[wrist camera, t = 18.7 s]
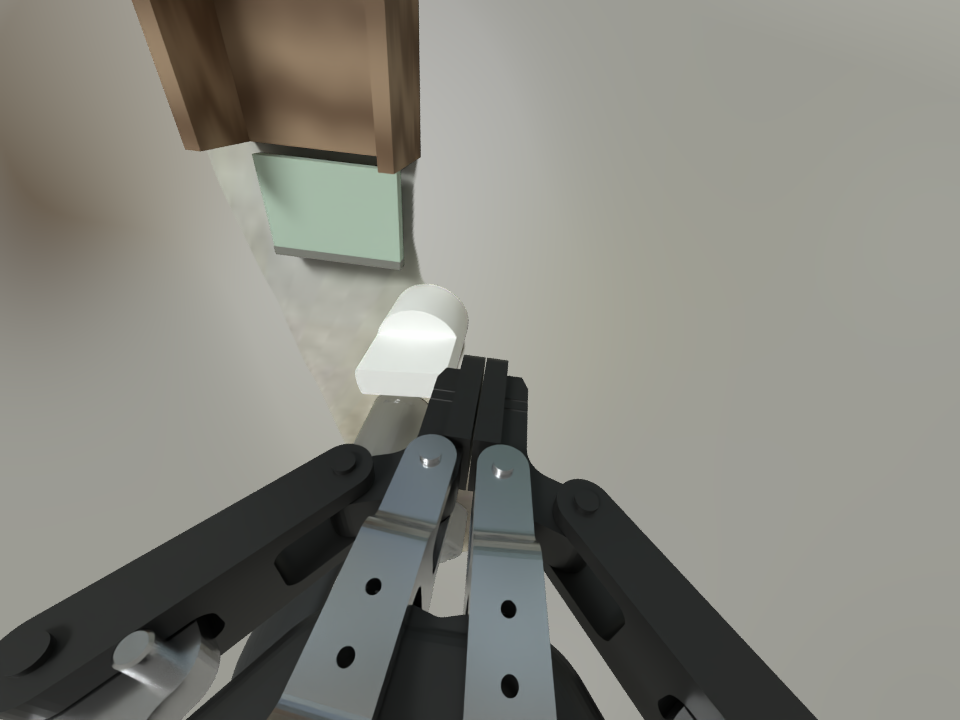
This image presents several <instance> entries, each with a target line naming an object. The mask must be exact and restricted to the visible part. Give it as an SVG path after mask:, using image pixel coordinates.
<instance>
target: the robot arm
mask: <svg viewBox="0 0 960 720" xmlns="http://www.w3.org/2000/svg"><path fill="white" fill-rule="evenodd" d="M484 367H485V358H484V357H478V356H470V355H464V357H463V361H462V365H461V369H455V368H448V367H447V368H446V369H445V370H444V371H443V372H441V373H440V374H439V375H438V376H437V379H436V382H435V385H434V389H433V391H432V394H431V398H430V400H429V403H428V404H427V403H426V402H425V401H423V400H422V399H421V398H419V397H408V396H391V395H380V396H379V397H378V398H377V399H376V400H375V402H374V404H373V406H372V408H371V410H370V412H369V414H368V416H367V418H366V420H365V422H364V424H363V426H362V428H361V430H360V432H359V434H358V436H357V438H356V440H355V442H354V444H343V445H339V446H336V447H334V448H332V449H330V450H328V451H327V452H325V453H323V454H321V455H319V456H318V457H316V458H314V459H312V460H311V461H309V462H307V463H305V464H303V465H302V466H300V467H298V468H296V469H295V470H293V471H291V472H289V473H288V474H286V475H284V476H282V477H280V478H279V479H277V480H275V481H274V482H272V483H270V484H268V485H266V486H265V487H263V488H261V489H259V490H257V491H256V492H254V493H252V494H250V495H249V496H247V497H245V498H243V499H242V500H240V501H238V502H236V503H234V504H233V505H231V506H229V507H227V508H226V509H224V510H222V511H220V512H219V513H217V514H215V515H213V516H211V517H210V518H208V519H206V520H205V521H203V522H201V523H199V524H197V525H196V526H194V527H192V528H190V529H189V530H187V531H185V532H183V533H182V534H180V535H178V536H176V537H174V538H173V539H171V540H169V541H167V542H165V543H164V544H162V545H160V546H158V547H157V548H155V549H153V550H151V551H150V552H148V553H146V554H144V555H142V556H141V557H139V558H137V559H135V560H134V561H132V562H130V563H128V564H127V565H125V566H123V567H121V568H120V569H118V570H116V571H114V572H113V573H111V574H109V575H107V576H105V577H104V578H102V579H100V580H98V581H97V582H95V583H93V584H91V585H89V586H88V587H86V588H84V589H82V590H81V591H79V592H77V593H75V594H73V595H72V596H70V597H68V598H66V599H65V600H63V601H61V602H59V603H58V604H56V605H54V606H52V607H51V608H49V609H47V610H45V611H43V612H42V613H40V614H38V615H37V616H35V617H33V618H31V619H29V620H28V621H26V622H24V623H23V624H21V625H20V626H18V627H17V628H15V629H14V630H13V631H11V632H10V633H9V634H8V635H7V636H5V637H4V638H3V639H2V640H0V719H3V720H181V719H182V718H183V717H184V716H185V715H186V714H187V713H188V712H189V711H190V710H191V709H192V708H193V707H194V706H195V705H196V704H197V703H198V702H199V701H200V700H201V698H202V697H203V696H204V695H205V694H206V692H207V691H208V689H209V688H210V686H211V684H212V683H213V681H214V679H215V676H216V674H217V672H218V668H219V664H220V656H221V655H222V654H223V653H225V652H226V651H227V650H228V649H230V648H231V647H232V646H234V645H235V644H236V643H237V642H239V641H240V640H241V639H243V638H244V637H245V636H246V635H248V634H249V633H250V632H252V633H251V635H250V637H249V639H248V640H247V643H246V645H245V647H244V649H243V651H242V653H241V655H240V658H239V660H238V662H237V665H236V668H235V670H234V674H233V676H232V680H231V681H230V682H229V683H228V684H227V685H226V686H224V687H223V688H222V689H221V690H220V691H219V692H218V693H216V694H215V695H214V696H213V697H212V698H210V700H208V701H207V702H206V703H205V704H204V705H202V706H201V707H200V708H199V709H198V710H197V711H195V712H194V713H193V714H192V715H191V716H190V717H189V718H187V719H186V720H605V719H604V718H603V716H602V714H601V713H600V711H599V709H598V707H597V706H596V704H595V702H594V701H593V699H592V697H591V695H590V694H589V692H588V690H587V688H586V687H585V685H584V683H583V682H582V680H581V678H580V677H579V675H578V674H577V672H576V671H575V670H574V669H573V667H572V665H571V664H570V663H569V662H568V660H567V659H566V658H565V657H564V656H563V655H562V654H561V653H560V652H559V651H558V650H557V649H556V648H555V647H554V646H553V645H551V644H550V638H549V627H548V615H547V604H546V593H545V581H544V572H545V573H546V574H547V576H548V578H549V579H550V581H551V582H552V584H553V585H554V586H555V588H556V589H557V591H558V592H559V594H560V595H561V597H562V598H563V600H564V601H565V603H566V604H567V606H568V607H569V609H570V610H571V611H572V613H573V615H574V616H575V618H576V619H577V620H578V622H579V623H580V625H581V626H582V628H583V629H584V631H585V632H586V634H587V635H588V637H589V638H590V640H591V641H592V643H593V644H594V646H595V647H596V649H597V650H598V651H599V653H600V655H601V656H602V657H603V659H604V660H605V662H606V663H607V665H608V666H609V668H610V669H611V671H612V672H613V674H614V675H615V677H616V678H617V680H618V681H619V683H620V684H621V686H622V687H623V689H624V690H625V692H626V693H627V695H628V696H629V697H630V699H631V700H632V702H633V703H634V705H635V706H636V708H637V709H638V711H639V712H640V714H641V715H642V717H643V718H644V720H818V719H816V717H815V716H814V715H813V714H812V713H811V712H810V711H809V710H808V709H807V708H806V706H805V705H804V704H803V703H802V702H801V701H800V700H799V699H798V698H797V697H796V696H795V695H794V694H793V693H792V691H791V690H790V689H789V688H788V687H787V686H786V685H785V684H784V683H783V682H782V681H781V680H780V679H779V678H778V677H777V675H776V674H775V673H774V672H773V671H772V670H771V669H770V668H769V667H768V666H767V665H766V664H765V663H764V661H763V660H762V659H761V658H760V657H759V656H758V655H757V654H756V653H755V652H754V651H753V650H752V649H751V648H750V646H749V645H747V643H746V642H745V641H744V640H743V639H742V638H741V637H740V636H739V635H738V634H737V633H736V631H735V630H733V628H732V627H731V626H730V625H729V624H728V623H727V622H726V621H725V620H724V619H723V618H722V617H721V615H719V613H718V612H717V611H716V610H715V609H714V608H713V607H712V606H711V605H710V604H709V603H708V601H707V600H705V598H704V597H703V596H702V595H701V594H700V593H699V592H698V591H697V590H696V589H695V588H694V587H693V585H692V584H690V582H689V581H688V580H687V579H686V578H685V577H684V576H683V575H682V574H681V573H680V571H679V570H678V569H677V568H676V567H675V566H674V565H673V564H672V563H671V562H670V561H669V560H668V559H667V558H666V556H665V555H663V553H662V552H661V551H660V550H659V549H658V548H657V547H656V546H655V545H654V544H653V543H652V542H651V540H650V539H649V538H648V537H647V536H646V535H645V534H644V533H643V532H642V531H641V530H640V529H639V528H638V527H637V525H635V523H634V522H633V521H632V520H631V519H630V518H629V517H628V516H627V515H626V514H625V513H624V511H623V510H622V509H621V508H620V507H619V506H618V505H617V504H616V503H615V502H614V501H613V500H612V499H611V498H610V496H609V495H608V494H607V493H606V492H605V491H604V490H603V489H602V488H600V487H599V486H598V485H596V484H594V483H592V482H590V481H587V480H583V479H573V480H569V481H567V482H565V483H564V484H562V483H559V482H557V481H555V480H553V479H551V478H548V477H546V476H545V475H543V474H541V473H540V472H539V471H537V470H536V469H535V467H534V466H533V465H532V464H531V462H530V460H529V458H528V455H527V411H528V388H527V387H526V385H525V383H524V381H523V379H522V378H520V377H513V376H507V371H508V361H507V360H500V359H492V358H487V362H486V368H485V374H484ZM483 376H484V380H483ZM470 461H471V465H470ZM469 467H470V474H469V483H468V491H474V492H473V500H472V508H471V516H470V528H469V543H468V558H467V574H466V586H465V598H464V610H463V615H458V616H451V617H436V616H434V615H432V614H430V613H428V611H429V607H430V602H431V598H432V592H433V586H434V581H435V577H436V573H437V569H438V566H439V562H440V559H441V555H442V551H443V548H444V544H445V540H446V537H447V533H448V529H449V526H450V522H451V518H452V514H453V510H454V508H455V504H456V499H457V494H458V489H460V490H466V484H467V478H468V472H469ZM336 578H337V579H336ZM335 581H336V582H335ZM334 583H335V584H334ZM333 585H334V586H333ZM332 587H333V588H332Z"/></svg>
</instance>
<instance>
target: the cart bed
mask: <svg viewBox="0 0 960 720" xmlns="http://www.w3.org/2000/svg"><path fill="white" fill-rule="evenodd" d="M132 2H133V5H134V8H135V11H136V13H137V16H138V19H139V22H140V25H141V27H142V30H143V33H144V36H145V38H146V41H147V44H148V47H149V50H150V52H151V55H152V58H153V61H154V64H155V66H156V69H157V72H158V75H159V77H160V80H161V83H162V86H163V89H164V91H165V94H166V97H167V100H168V103H169V105H170V108H171V111H172V114H173V116H174V119H175V122H176V125H177V127H178V130H179V133H180V136H181V139H182V142H183V144H184V147H185V149H186V150H195V151H205V150H210V149H215V148H219V147H224V146H229V145H234V144H239V143H244V142H249V141H252V142H261V143H269V144H277V145H286V146H294V147H303V148H311V149H320V150H328V151H337V152H345V153H354V154H362V155H371V156H377V168H378V173H386V174H395V173H397V172H398V171H400V170H401V169H403V168H405V167H406V166H408V165H409V164H411V163H412V162H414V161H415V160H417V159H418V158H420V157H421V149H420V148H421V146H420V75H419V73H420V71H419V1H418V0H132Z"/></svg>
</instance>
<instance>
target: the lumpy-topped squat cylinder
mask: <svg viewBox="0 0 960 720" xmlns="http://www.w3.org/2000/svg"><path fill="white" fill-rule="evenodd" d="M467 516H468V513H467V510H466V509H465V508H464V507H463V506H462V505H460V504H459V503H457V502H456V504H455V508H454V510H453V514H452V518H451V522H450V526H449V529H448V533H447V537H446V540H445V544H444V548H443V551H442V555H441V559H440V562H439V563H443V562H445V561H447V560H451V559H454V558H456V557H458V556H459V555H460V554H461V553H462V548H463V541H464V535H465V529H466V522H467Z"/></svg>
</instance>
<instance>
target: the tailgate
mask: <svg viewBox="0 0 960 720" xmlns="http://www.w3.org/2000/svg"><path fill="white" fill-rule="evenodd" d="M252 156H253V160H254V164H255V168H256V172H257V176H258V180H259V185H260V189H261V193H262V197H263V201H264V205H265V209H266V213H267V217H268V221H269V225H270V229H271V234H272V238H273V242H274V248H275V252H276V254H280V255H287V256H295V257H303V258H310V259H318V260H326V261H333V262H341V263H349V264H356V265H364V266H372V267H379V268H387V269H395V270H401V269H402V267H403V266H404V254H403V226H402V198H401V170H400V171H398V172H397V173H395V174H386V173H378V168H377V166H370V165H361V164H353V163H345V162H336V161H328V160H319V159H311V158H303V157H294V156H286V155H277V154H269V153H261V152H260V153H255V154H252Z"/></svg>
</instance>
